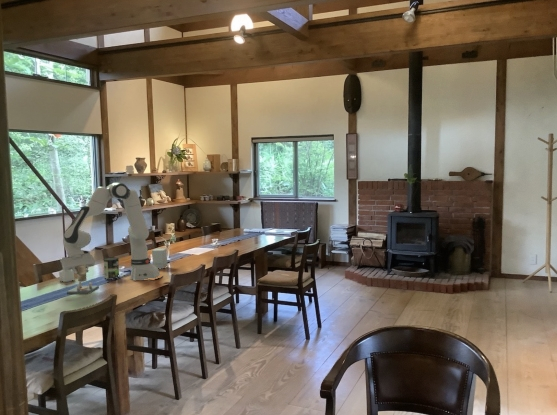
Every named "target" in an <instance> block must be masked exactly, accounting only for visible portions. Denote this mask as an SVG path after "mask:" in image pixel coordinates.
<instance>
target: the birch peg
mask: <svg viewBox="0 0 557 415" xmlns="http://www.w3.org/2000/svg"><path fill="white" fill-rule="evenodd" d="M77 268H78V269H77V271H78V272H79V273H78V274H77V282H78V283H79V282H81V283H83V282H87V280H88V279H87V273H86V269H87V268H86V265H79V266H77Z"/></svg>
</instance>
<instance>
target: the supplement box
mask: <svg viewBox="0 0 557 415" xmlns="http://www.w3.org/2000/svg"><path fill="white" fill-rule="evenodd" d="M167 250H168V249H167V248H154V249H152V250H151V255H152V256H151V258H152V259H151V261H152V264H153V265H154V266H155V267H157V268H165V267H166V266H167V267H168V252H167ZM167 267H166V268H167ZM166 268H165V269H166Z"/></svg>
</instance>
